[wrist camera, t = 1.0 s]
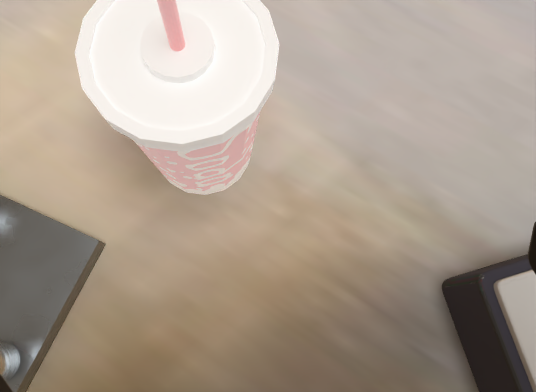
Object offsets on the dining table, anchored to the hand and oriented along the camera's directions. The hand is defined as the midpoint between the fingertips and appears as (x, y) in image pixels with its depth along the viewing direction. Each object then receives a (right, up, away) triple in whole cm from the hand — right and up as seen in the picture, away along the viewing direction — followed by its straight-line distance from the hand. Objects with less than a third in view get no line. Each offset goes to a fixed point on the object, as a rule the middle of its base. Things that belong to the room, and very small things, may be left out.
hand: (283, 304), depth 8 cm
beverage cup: (-3, +4, +16) cm, 16 cm away
